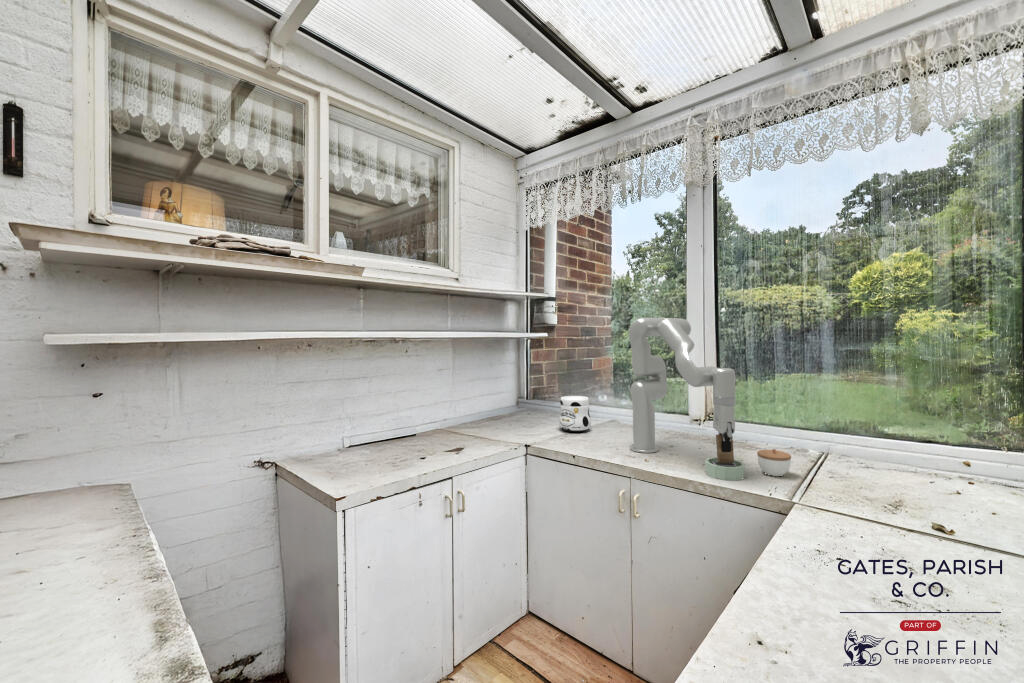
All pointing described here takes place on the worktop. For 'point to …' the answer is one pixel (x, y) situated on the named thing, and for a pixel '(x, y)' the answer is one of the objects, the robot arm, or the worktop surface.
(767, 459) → the lidded jar
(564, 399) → the milk container
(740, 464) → the green round dish
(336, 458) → the worktop surface
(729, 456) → the brown wooden block
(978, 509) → the worktop surface
